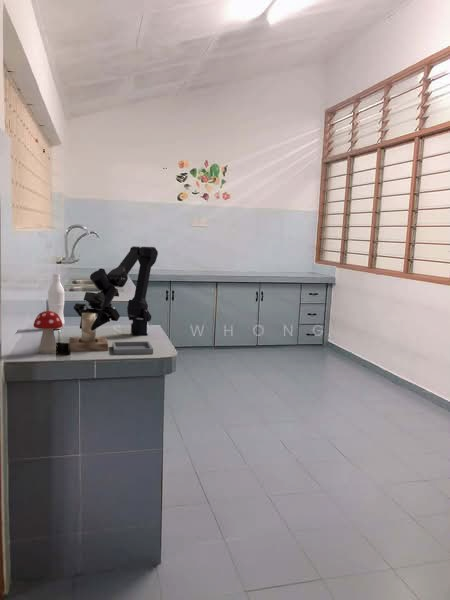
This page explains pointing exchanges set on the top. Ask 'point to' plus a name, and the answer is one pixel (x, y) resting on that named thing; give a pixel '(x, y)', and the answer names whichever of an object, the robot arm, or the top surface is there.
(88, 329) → the dowel
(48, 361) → the top surface
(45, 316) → the decorative mushroom
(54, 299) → the water bottle
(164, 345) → the top surface
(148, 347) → the tray
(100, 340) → the holder
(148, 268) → the robot arm
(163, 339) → the top surface
